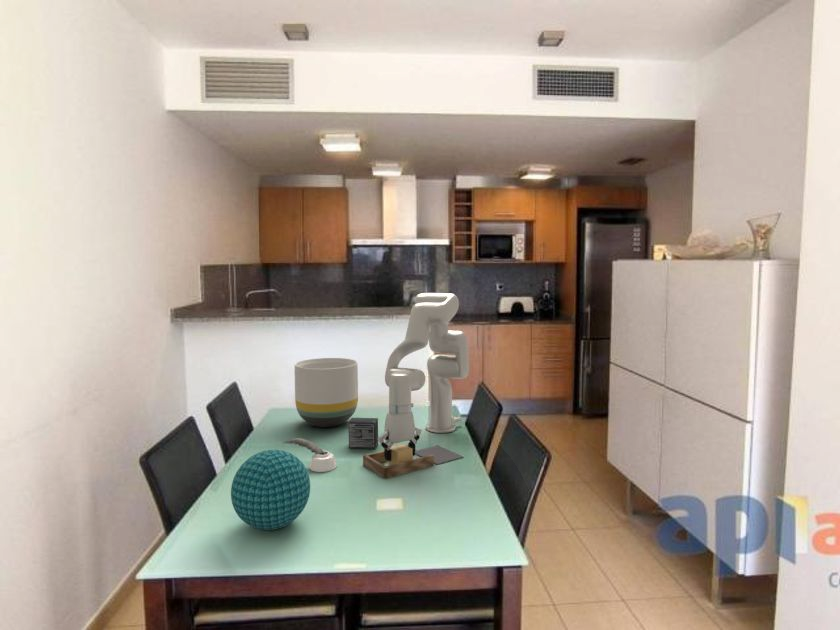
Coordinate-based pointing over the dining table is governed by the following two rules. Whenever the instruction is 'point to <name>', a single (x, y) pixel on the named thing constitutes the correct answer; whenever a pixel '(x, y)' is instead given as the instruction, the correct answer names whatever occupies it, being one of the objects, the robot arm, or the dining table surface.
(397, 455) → the ochre cube
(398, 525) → the dining table surface
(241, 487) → the decorative ball
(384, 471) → the walnut cubby
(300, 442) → the inkwell
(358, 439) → the small box
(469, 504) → the dining table surface
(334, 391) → the planter
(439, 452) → the charcoal mat
